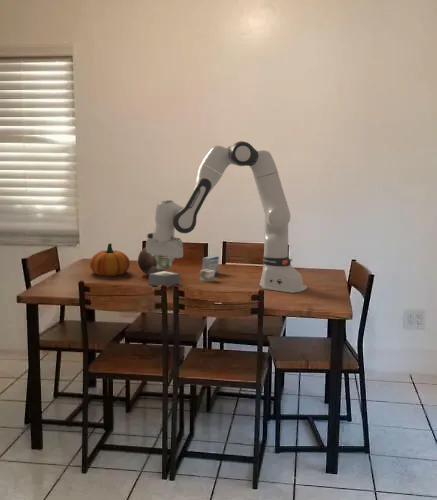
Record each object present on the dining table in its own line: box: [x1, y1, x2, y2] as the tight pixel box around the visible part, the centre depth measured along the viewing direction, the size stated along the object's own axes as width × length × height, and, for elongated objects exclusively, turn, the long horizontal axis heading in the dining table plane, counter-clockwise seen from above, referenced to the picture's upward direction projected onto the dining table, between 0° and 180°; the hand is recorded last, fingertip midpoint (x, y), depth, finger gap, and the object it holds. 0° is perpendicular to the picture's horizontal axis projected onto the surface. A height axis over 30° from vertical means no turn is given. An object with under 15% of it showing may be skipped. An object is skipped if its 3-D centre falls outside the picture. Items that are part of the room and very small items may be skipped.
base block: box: [148, 270, 180, 287], centre depth 285 cm, size 10×10×5 cm
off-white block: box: [199, 269, 216, 283], centre depth 295 cm, size 5×5×5 cm
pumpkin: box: [89, 243, 131, 277], centre depth 304 cm, size 19×19×15 cm
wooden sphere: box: [137, 246, 166, 276], centre depth 303 cm, size 15×15×15 cm
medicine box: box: [201, 255, 220, 275], centre depth 310 cm, size 8×4×9 cm, turn 143°
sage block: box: [157, 257, 173, 271], centre depth 284 cm, size 5×5×5 cm
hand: (164, 265), depth 284 cm, fingers closed on sage block, 5 cm apart
